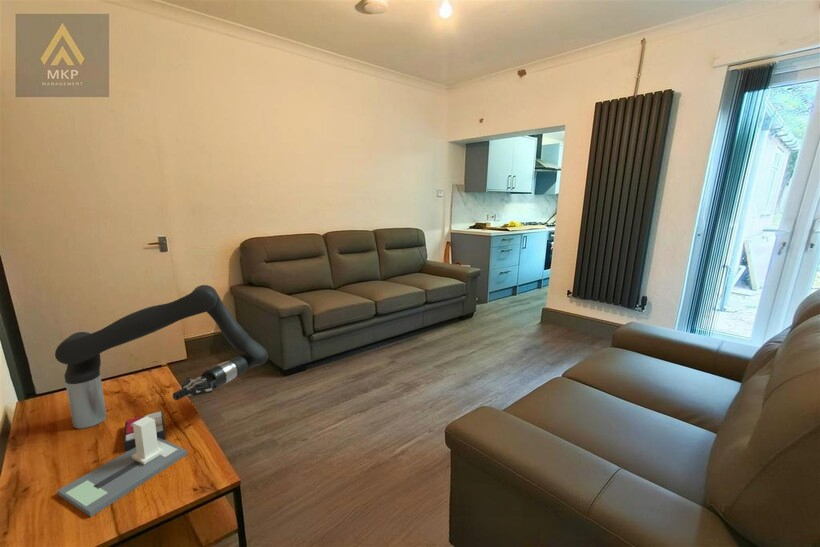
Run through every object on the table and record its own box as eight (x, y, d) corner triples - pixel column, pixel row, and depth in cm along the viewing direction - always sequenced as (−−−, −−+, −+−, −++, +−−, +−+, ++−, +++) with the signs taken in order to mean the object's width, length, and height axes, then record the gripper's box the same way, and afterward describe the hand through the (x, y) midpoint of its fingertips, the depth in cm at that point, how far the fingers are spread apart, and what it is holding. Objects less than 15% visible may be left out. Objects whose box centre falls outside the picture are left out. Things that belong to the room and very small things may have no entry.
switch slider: (131, 458, 112) (127, 423, 109) (152, 446, 117) (148, 413, 114) (144, 464, 109) (139, 429, 107) (164, 452, 115) (160, 418, 112)
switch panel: (58, 495, 99) (57, 490, 99) (155, 439, 123) (155, 435, 122) (90, 517, 93) (90, 512, 93) (187, 454, 117) (186, 450, 116)
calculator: (162, 409, 134) (164, 428, 122) (163, 420, 135) (165, 440, 123) (125, 419, 128) (123, 440, 116) (126, 430, 129) (125, 452, 117)
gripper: (207, 361, 136) (160, 382, 120) (232, 369, 131) (186, 391, 115) (208, 379, 138) (162, 402, 122) (233, 387, 132) (188, 412, 117)
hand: (174, 397), depth 119 cm, fingers closed
